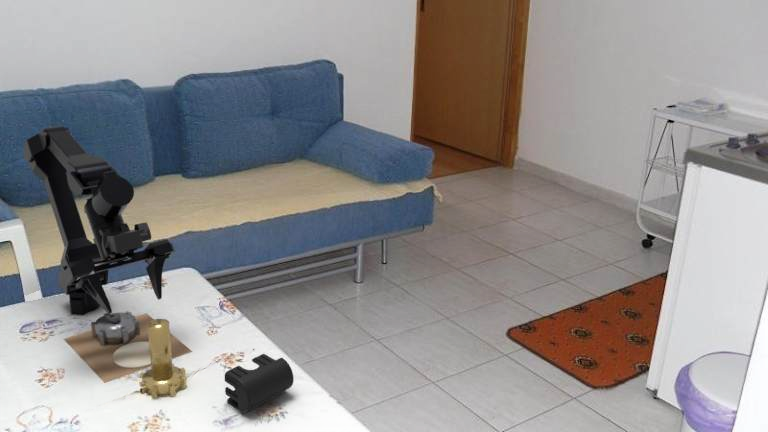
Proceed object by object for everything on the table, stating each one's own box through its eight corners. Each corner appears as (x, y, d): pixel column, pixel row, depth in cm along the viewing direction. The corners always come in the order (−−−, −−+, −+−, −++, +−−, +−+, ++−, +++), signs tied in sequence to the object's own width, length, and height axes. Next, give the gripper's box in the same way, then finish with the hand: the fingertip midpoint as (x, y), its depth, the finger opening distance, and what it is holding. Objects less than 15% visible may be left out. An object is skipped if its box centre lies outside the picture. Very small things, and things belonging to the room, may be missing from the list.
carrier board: (64, 345, 148) (63, 337, 148) (146, 319, 159) (146, 311, 158) (105, 390, 135) (104, 381, 134) (192, 358, 146) (192, 350, 145)
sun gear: (87, 332, 150) (85, 313, 149) (127, 320, 155) (125, 302, 154) (105, 351, 144) (103, 331, 143) (146, 337, 149) (144, 318, 148)
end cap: (249, 421, 128) (248, 386, 125) (223, 404, 132) (221, 370, 130) (294, 396, 135) (294, 363, 133) (268, 381, 139) (267, 348, 137)
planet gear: (150, 371, 141) (145, 310, 136) (193, 375, 140) (189, 314, 136) (131, 396, 133) (125, 333, 129) (177, 400, 133) (172, 337, 128)
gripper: (64, 221, 127) (94, 309, 125) (169, 200, 139) (198, 279, 136) (52, 243, 136) (79, 325, 133) (151, 221, 147) (178, 296, 145)
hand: (135, 306), depth 137 cm, fingers open, 9 cm apart
